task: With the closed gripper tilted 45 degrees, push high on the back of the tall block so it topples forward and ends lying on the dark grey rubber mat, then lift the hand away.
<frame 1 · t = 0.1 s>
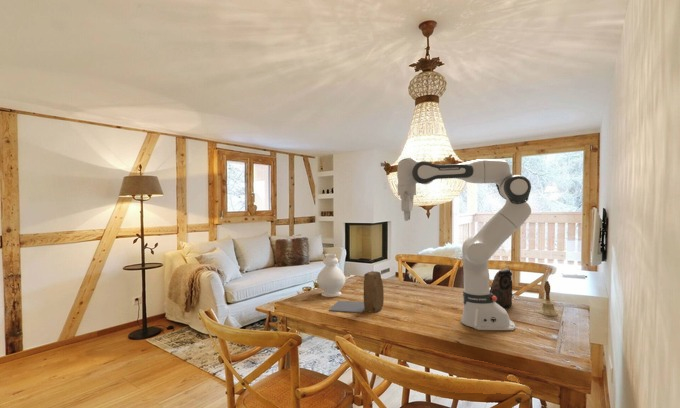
hand: (407, 220, 166), 48 cm above the table, tool pointing down, fingers open, 8 cm apart
decorative vase: (331, 294, 215), on the table
hand bell: (548, 313, 169), on the table
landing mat: (349, 307, 187), on the table
block: (374, 310, 181), on the table
owl: (500, 305, 185), on the table
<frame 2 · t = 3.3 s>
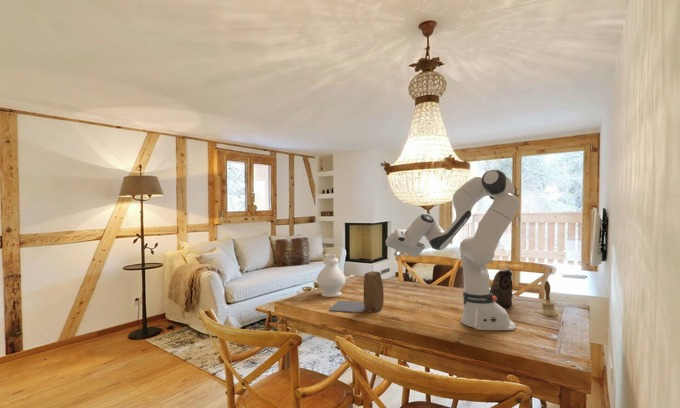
hand: (396, 255, 186), 28 cm above the table, tool tilted 45°, fingers closed
nothing on the table moved.
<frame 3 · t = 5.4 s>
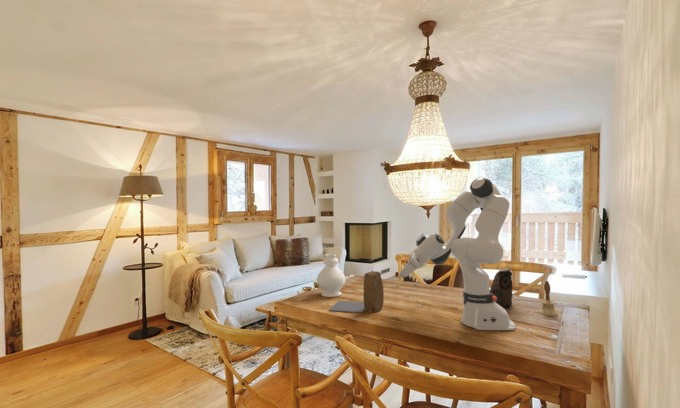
hand: (398, 277, 179), 17 cm above the table, tool tilted 45°, fingers closed
nothing on the table moved.
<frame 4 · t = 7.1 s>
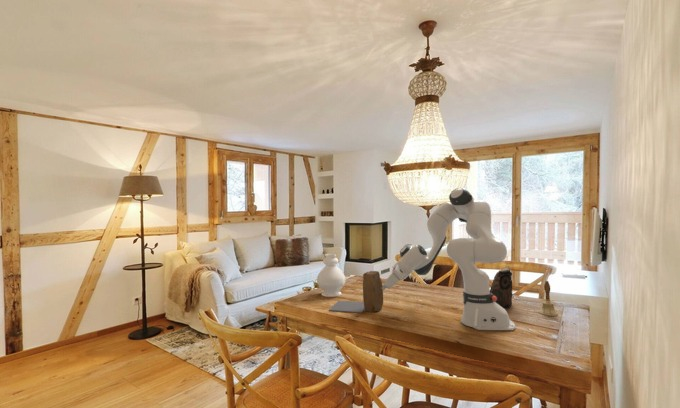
hand: (382, 288, 180), 11 cm above the table, tool tilted 45°, fingers closed
nothing on the table moved.
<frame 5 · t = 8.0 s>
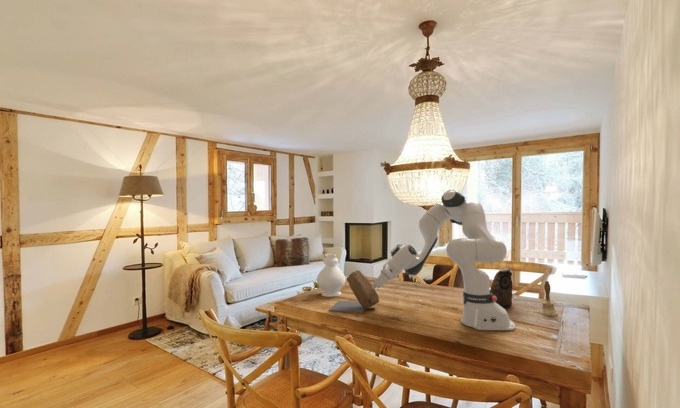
hand: (373, 287, 182), 11 cm above the table, tool tilted 45°, fingers closed
block: (373, 305, 181), point 2 cm above the table
everything else where it was.
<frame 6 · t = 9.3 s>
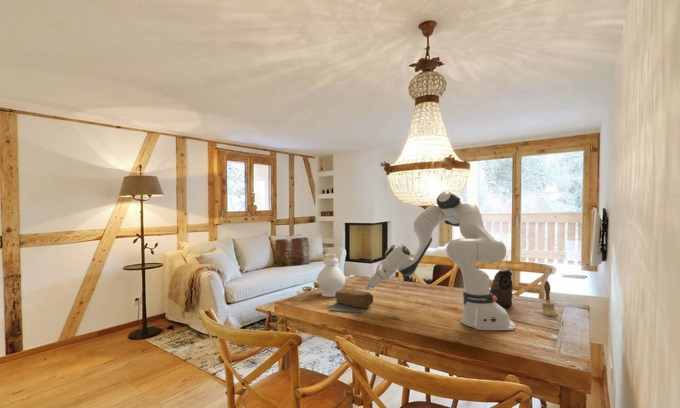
hand: (367, 288, 182), 11 cm above the table, tool tilted 45°, fingers closed
block: (368, 300, 182), point 5 cm above the table, touching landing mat
everything else where it was.
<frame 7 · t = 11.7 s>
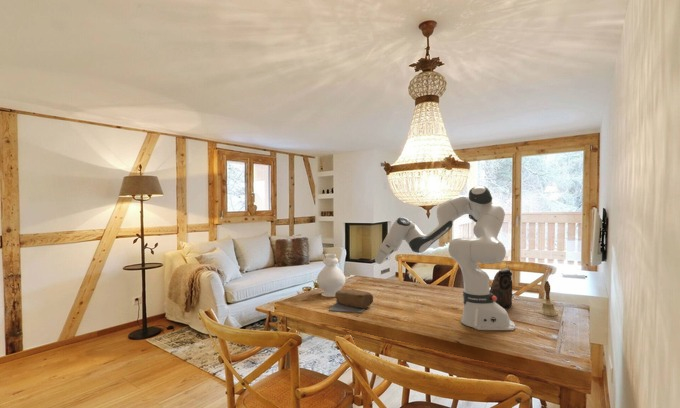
hand: (381, 261, 191), 24 cm above the table, tool tilted 40°, fingers closed
nothing on the table moved.
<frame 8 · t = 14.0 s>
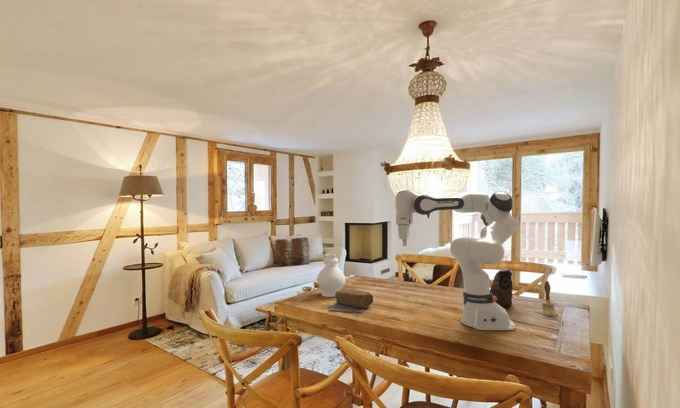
hand: (404, 245, 184), 33 cm above the table, tool pointing down, fingers closed
nothing on the table moved.
at the end: block tilted 92°; block touching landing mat; block inside the target area (9.0 cm from its centre), point 4.6 cm above the table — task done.
